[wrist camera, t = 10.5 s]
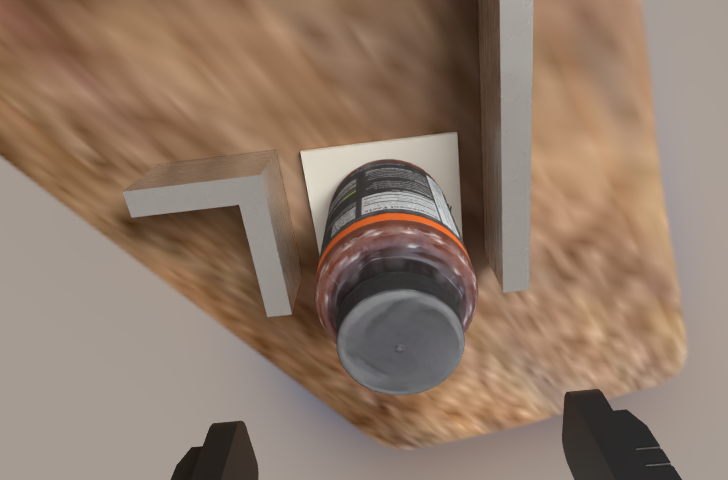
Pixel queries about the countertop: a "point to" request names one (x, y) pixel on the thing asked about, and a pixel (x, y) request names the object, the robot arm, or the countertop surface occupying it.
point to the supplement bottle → (394, 279)
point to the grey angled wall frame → (267, 194)
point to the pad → (339, 161)
